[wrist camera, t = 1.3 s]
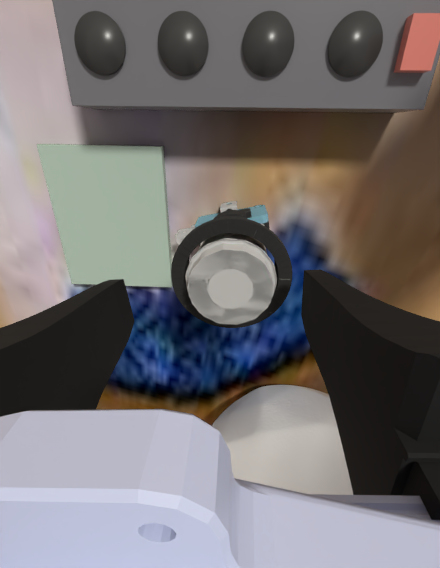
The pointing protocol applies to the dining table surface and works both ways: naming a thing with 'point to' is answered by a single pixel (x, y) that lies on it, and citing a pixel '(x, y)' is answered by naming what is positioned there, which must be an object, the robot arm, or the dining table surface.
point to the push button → (231, 267)
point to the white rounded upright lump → (286, 440)
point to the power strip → (250, 54)
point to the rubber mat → (110, 211)
